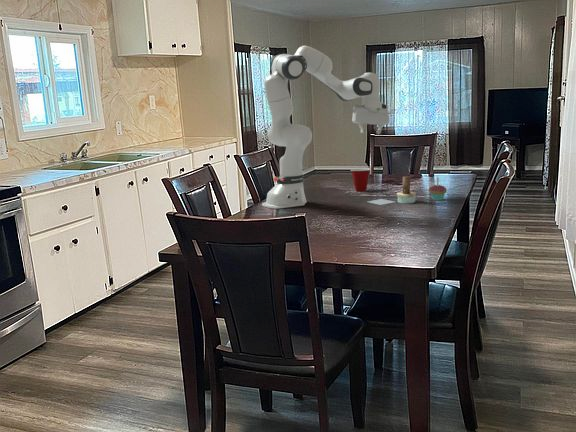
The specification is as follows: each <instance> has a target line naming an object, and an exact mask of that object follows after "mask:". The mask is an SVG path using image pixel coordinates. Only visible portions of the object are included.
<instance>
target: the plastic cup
mask: <svg viewBox="0 0 576 432" xmlns="http://www.w3.org/2000/svg"><path fill="white" fill-rule="evenodd" d="M370 171H371V168H351V169H350V172H351V175H352V180H353V185H354V189H355V191H356V192H366V191H367V188H368V184H369V177H370V176H369V175H370Z"/></svg>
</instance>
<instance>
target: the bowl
mask: <svg viewBox="0 0 576 432" xmlns="http://www.w3.org/2000/svg"><path fill="white" fill-rule="evenodd" d="M397 202H398V203H400V204H413V203H416V196H413V197H400V196H397Z"/></svg>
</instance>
